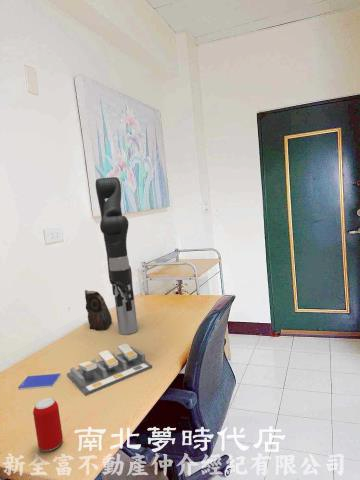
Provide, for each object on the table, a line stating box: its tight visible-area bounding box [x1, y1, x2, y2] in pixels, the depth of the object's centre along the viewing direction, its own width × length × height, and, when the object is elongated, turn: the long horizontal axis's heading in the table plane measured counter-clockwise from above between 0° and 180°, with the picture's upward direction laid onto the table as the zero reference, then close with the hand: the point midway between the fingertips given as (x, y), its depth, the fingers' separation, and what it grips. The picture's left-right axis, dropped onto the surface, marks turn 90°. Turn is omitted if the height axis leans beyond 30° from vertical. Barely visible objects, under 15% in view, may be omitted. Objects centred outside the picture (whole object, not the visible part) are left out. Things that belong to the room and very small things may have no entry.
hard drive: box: [17, 373, 61, 391], centre depth 127 cm, size 2×8×12 cm
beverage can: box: [32, 397, 64, 452], centre depth 91 cm, size 6×6×12 cm
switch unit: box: [66, 346, 153, 396], centre depth 129 cm, size 19×26×4 cm
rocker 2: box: [117, 342, 137, 360], centre depth 133 cm, size 9×4×2 cm, turn 36°
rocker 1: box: [77, 360, 97, 371], centre depth 124 cm, size 9×4×2 cm, turn 36°
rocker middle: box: [98, 349, 118, 368], centre depth 129 cm, size 9×4×2 cm, turn 36°
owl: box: [84, 289, 113, 332], centre depth 180 cm, size 13×13×20 cm
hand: (124, 308), depth 135 cm, fingers open, 8 cm apart
